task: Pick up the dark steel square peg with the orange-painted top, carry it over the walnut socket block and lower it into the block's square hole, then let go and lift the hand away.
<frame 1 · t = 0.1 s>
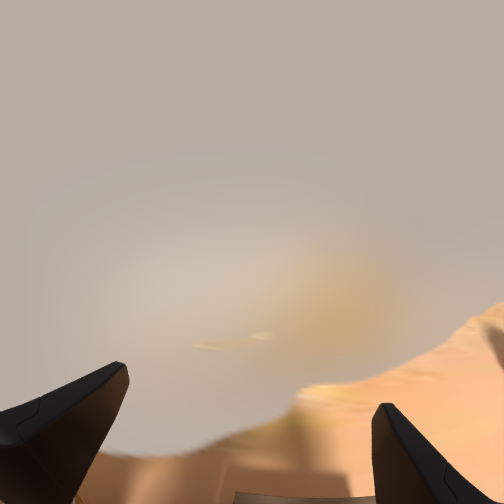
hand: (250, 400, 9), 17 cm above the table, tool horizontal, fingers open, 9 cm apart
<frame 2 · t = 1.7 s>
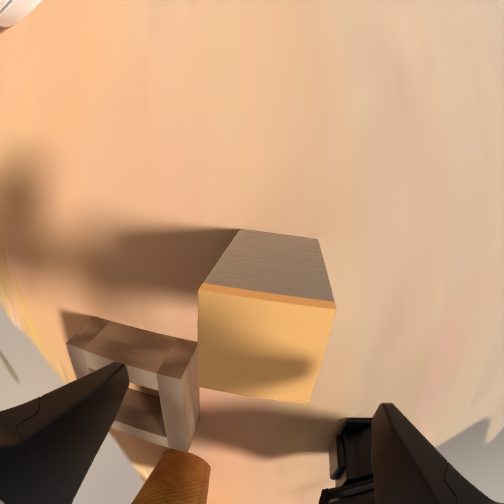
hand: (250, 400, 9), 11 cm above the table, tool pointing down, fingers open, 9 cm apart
socket block: (147, 373, 24), on the table
disposable coffee cup: (187, 461, 30), on the table
steel peg: (274, 270, 20), on the table
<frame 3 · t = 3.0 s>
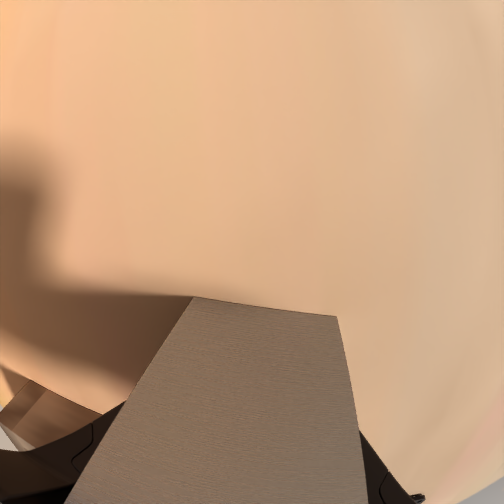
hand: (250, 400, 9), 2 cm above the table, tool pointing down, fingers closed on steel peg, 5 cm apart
socket block: (102, 448, 16), on the table
steel peg: (257, 363, 11), on the table, touching gripper
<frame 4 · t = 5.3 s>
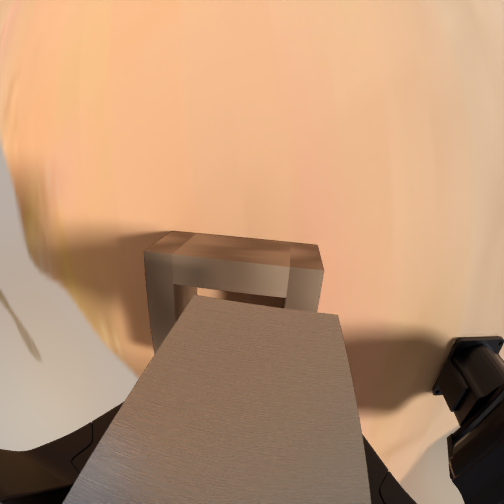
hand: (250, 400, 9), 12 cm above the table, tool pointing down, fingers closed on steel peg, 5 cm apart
socket block: (239, 303, 21), on the table
steel peg: (257, 361, 11), point 10 cm above the table, touching gripper
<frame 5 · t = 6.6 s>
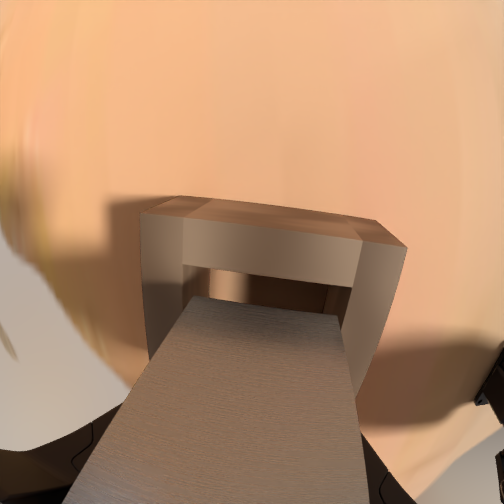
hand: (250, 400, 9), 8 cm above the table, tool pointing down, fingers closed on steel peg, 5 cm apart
socket block: (266, 297, 16), on the table
steel peg: (257, 362, 11), point 6 cm above the table, touching gripper
when the fingers open (5 cm above the table, at t = 7.5 s): steel peg drops 3 cm, resting in socket block.
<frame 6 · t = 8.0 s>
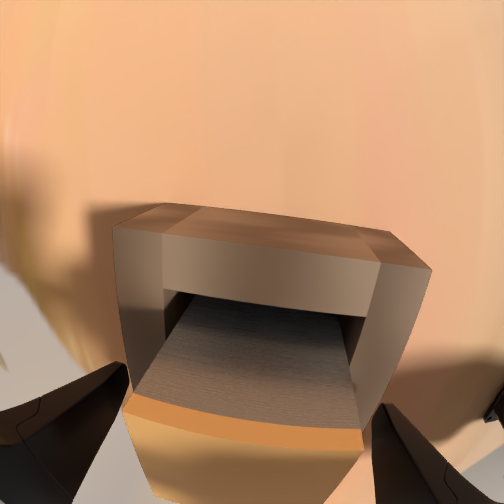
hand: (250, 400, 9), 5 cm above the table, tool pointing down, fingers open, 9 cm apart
socket block: (264, 317, 14), on the table
steel peg: (266, 316, 14), resting in socket block
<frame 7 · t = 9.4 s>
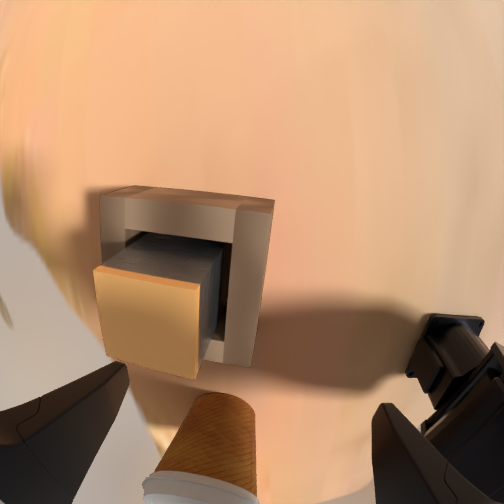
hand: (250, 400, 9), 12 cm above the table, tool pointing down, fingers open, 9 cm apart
socket block: (195, 260, 21), on the table
disposable coffee cup: (224, 411, 26), on the table
steel peg: (196, 260, 21), resting in socket block
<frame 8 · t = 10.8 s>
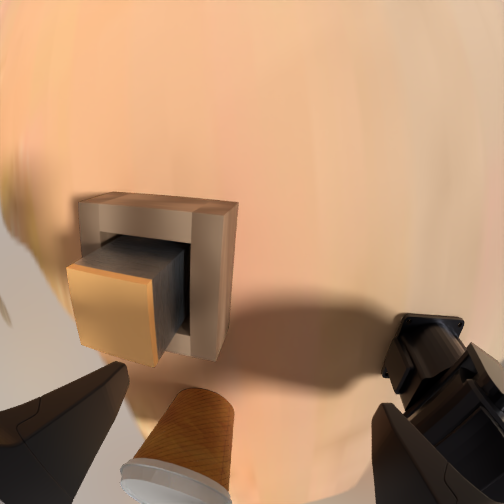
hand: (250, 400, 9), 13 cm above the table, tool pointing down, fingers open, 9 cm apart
socket block: (169, 260, 22), on the table
disposable coffee cup: (205, 407, 27), on the table
steel peg: (170, 260, 22), resting in socket block
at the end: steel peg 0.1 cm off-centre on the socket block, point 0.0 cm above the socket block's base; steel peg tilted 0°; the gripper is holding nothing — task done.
